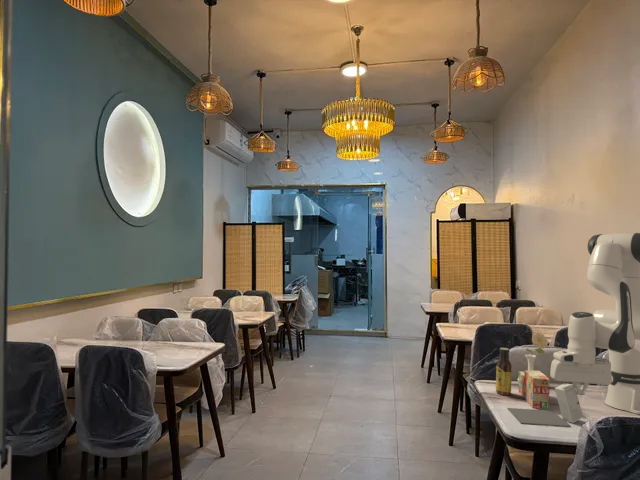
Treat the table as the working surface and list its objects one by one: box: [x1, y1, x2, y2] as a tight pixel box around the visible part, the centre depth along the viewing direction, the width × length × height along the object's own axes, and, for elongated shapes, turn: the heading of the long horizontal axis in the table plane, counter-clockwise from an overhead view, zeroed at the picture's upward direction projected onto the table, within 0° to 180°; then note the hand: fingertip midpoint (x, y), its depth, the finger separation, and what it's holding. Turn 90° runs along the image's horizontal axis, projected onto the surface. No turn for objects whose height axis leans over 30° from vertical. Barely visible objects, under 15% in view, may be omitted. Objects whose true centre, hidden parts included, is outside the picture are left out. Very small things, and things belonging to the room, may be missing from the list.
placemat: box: [506, 407, 572, 428], centre depth 158 cm, size 17×15×1 cm
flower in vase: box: [517, 332, 549, 383], centre depth 200 cm, size 13×11×25 cm
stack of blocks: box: [517, 369, 551, 411], centre depth 178 cm, size 21×6×12 cm, turn 169°
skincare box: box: [554, 382, 584, 424], centre depth 156 cm, size 6×4×12 cm
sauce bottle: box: [495, 347, 513, 396], centre depth 186 cm, size 7×6×20 cm
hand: (580, 394), depth 155 cm, fingers closed
